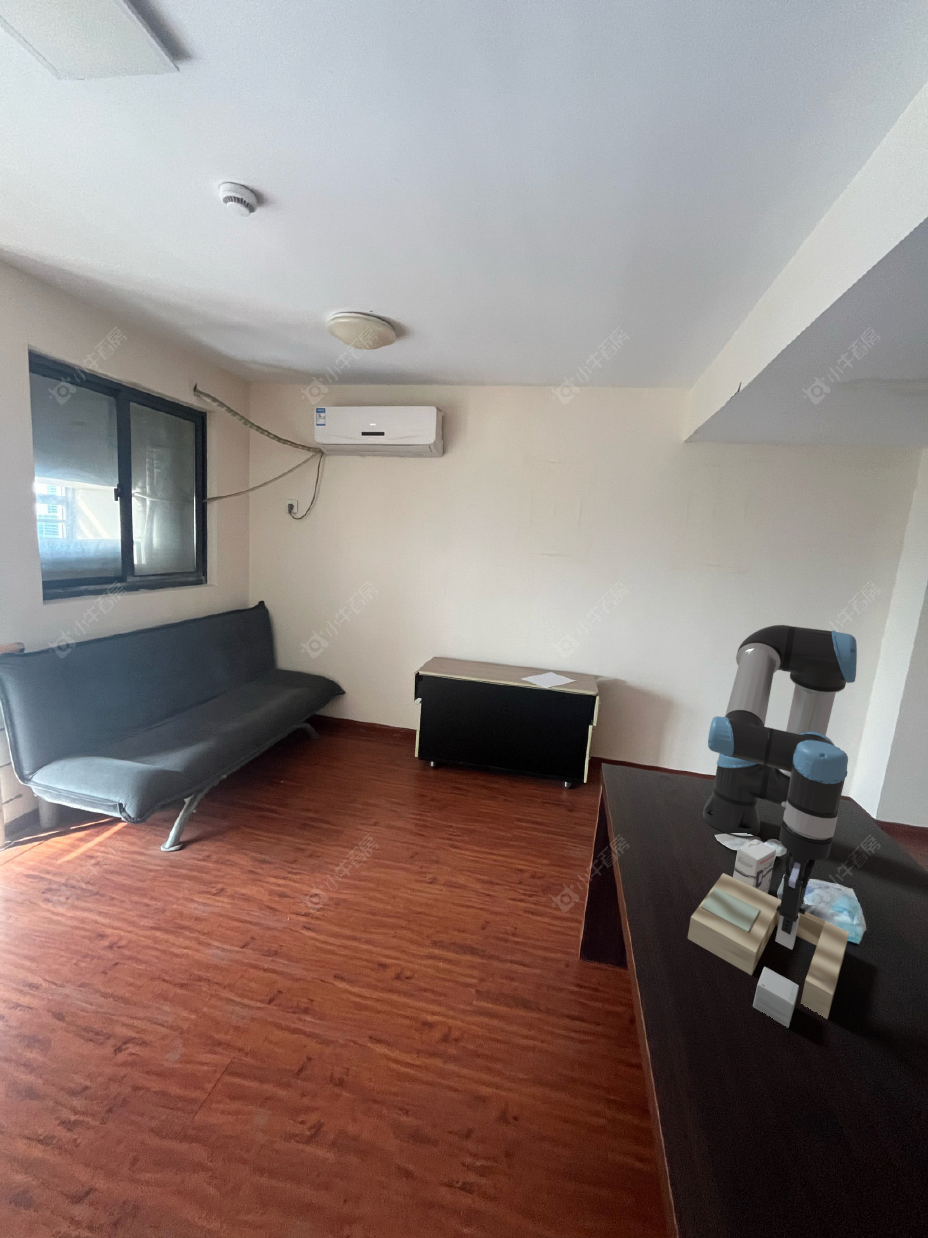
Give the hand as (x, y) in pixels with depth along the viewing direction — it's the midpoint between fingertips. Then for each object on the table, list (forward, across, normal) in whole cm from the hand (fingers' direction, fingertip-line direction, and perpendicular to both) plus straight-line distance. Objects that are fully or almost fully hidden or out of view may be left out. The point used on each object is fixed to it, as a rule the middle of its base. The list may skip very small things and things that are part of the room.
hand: (784, 943), depth 93 cm
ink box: (+9, -24, -11) cm, 28 cm away
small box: (+9, +7, +1) cm, 11 cm away
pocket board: (+9, -8, -4) cm, 12 cm away
